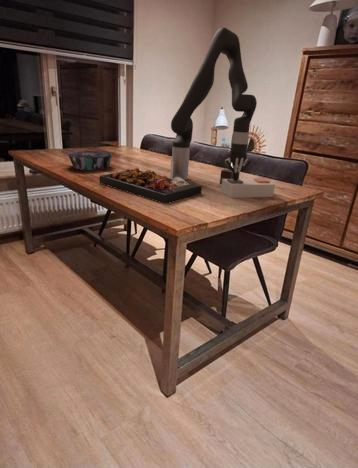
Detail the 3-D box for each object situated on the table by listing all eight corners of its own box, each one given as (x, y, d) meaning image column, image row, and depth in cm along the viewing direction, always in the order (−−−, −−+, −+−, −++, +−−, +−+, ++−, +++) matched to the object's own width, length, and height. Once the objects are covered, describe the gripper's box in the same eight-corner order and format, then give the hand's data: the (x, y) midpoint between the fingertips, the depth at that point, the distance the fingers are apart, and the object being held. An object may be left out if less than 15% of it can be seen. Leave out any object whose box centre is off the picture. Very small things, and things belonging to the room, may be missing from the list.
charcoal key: (231, 189, 152) (232, 181, 150) (226, 186, 157) (227, 178, 155) (242, 189, 153) (243, 181, 151) (237, 186, 158) (238, 178, 156)
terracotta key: (258, 189, 155) (259, 181, 154) (252, 186, 160) (253, 178, 159) (268, 189, 157) (269, 181, 155) (262, 186, 162) (264, 178, 160)
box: (229, 185, 171) (231, 172, 168) (219, 183, 174) (220, 170, 171) (234, 183, 176) (235, 170, 173) (224, 181, 179) (225, 168, 176)
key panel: (230, 197, 150) (232, 185, 147) (221, 190, 160) (222, 178, 158) (273, 196, 155) (275, 184, 153) (261, 190, 166) (262, 178, 164)
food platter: (200, 194, 154) (202, 173, 150) (166, 205, 136) (166, 181, 132) (136, 177, 180) (136, 158, 176) (99, 184, 163) (98, 163, 159)
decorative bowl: (122, 170, 202) (122, 154, 198) (88, 173, 179) (88, 155, 176) (92, 164, 214) (92, 149, 211) (57, 167, 191) (57, 149, 188)
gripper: (229, 143, 142) (225, 182, 148) (256, 143, 145) (251, 181, 152) (222, 141, 148) (219, 178, 155) (249, 141, 152) (244, 178, 158)
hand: (235, 180), depth 153 cm, fingers closed
